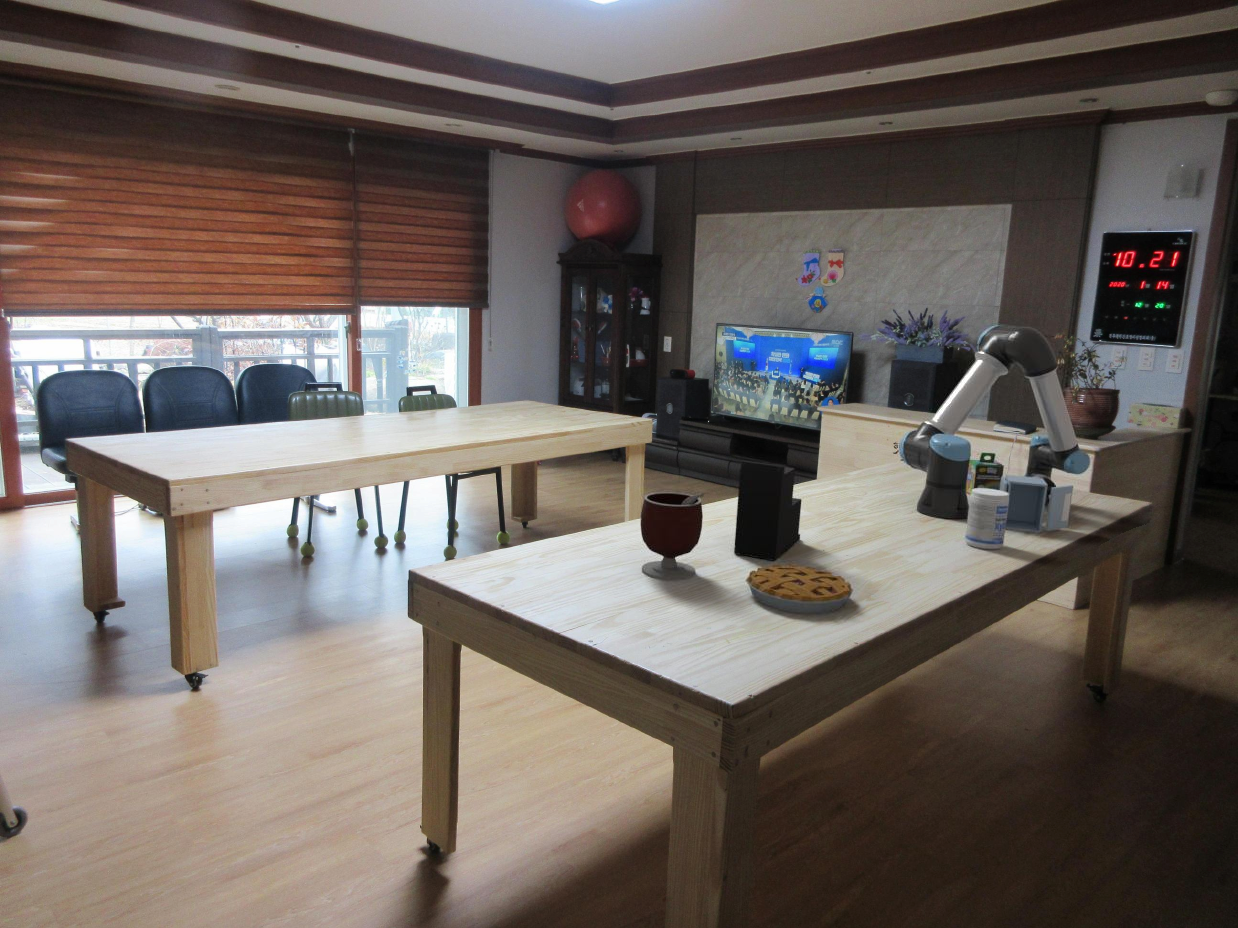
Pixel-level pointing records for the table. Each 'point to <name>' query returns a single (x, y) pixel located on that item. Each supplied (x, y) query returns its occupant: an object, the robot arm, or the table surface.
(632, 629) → the table surface
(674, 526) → the mate gourd
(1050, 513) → the right flap
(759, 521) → the black stepped block
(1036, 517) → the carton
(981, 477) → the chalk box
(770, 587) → the pie
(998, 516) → the supplement tub
